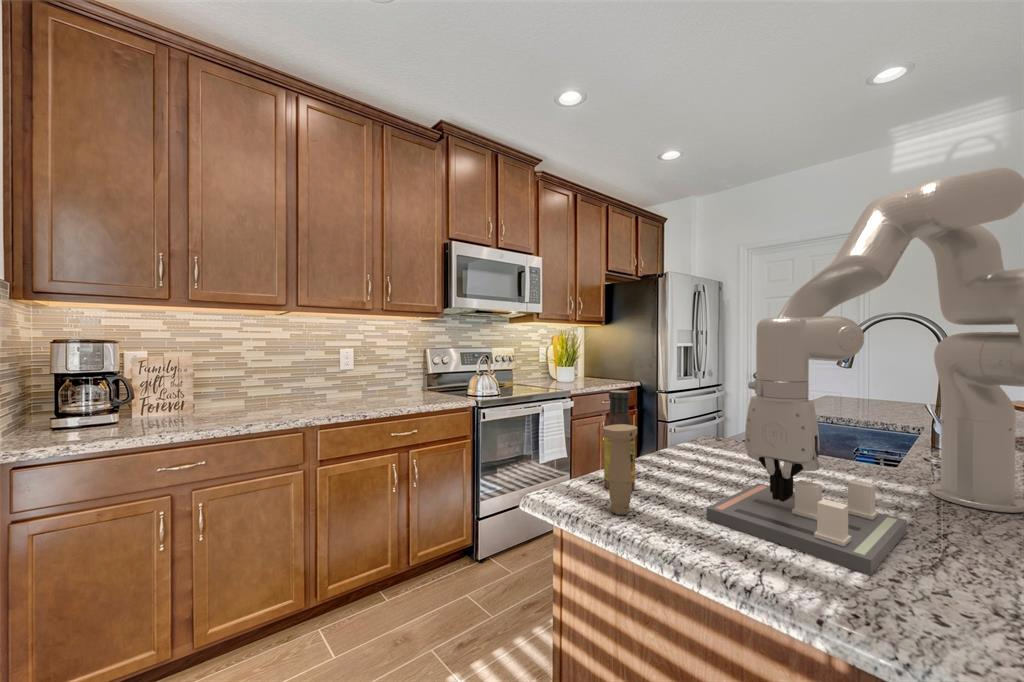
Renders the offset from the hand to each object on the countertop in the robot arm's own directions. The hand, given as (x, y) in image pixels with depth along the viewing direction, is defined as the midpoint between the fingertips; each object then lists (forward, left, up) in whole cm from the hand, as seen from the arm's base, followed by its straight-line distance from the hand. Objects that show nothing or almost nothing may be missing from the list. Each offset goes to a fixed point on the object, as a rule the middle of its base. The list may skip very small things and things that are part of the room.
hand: (781, 498), depth 73 cm
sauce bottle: (+9, -27, -4) cm, 29 cm away
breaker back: (-7, +9, -1) cm, 12 cm away
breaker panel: (0, +3, -4) cm, 5 cm away
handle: (+19, -19, -4) cm, 27 cm away
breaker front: (+7, +9, -1) cm, 12 cm away
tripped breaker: (0, +4, -1) cm, 4 cm away
